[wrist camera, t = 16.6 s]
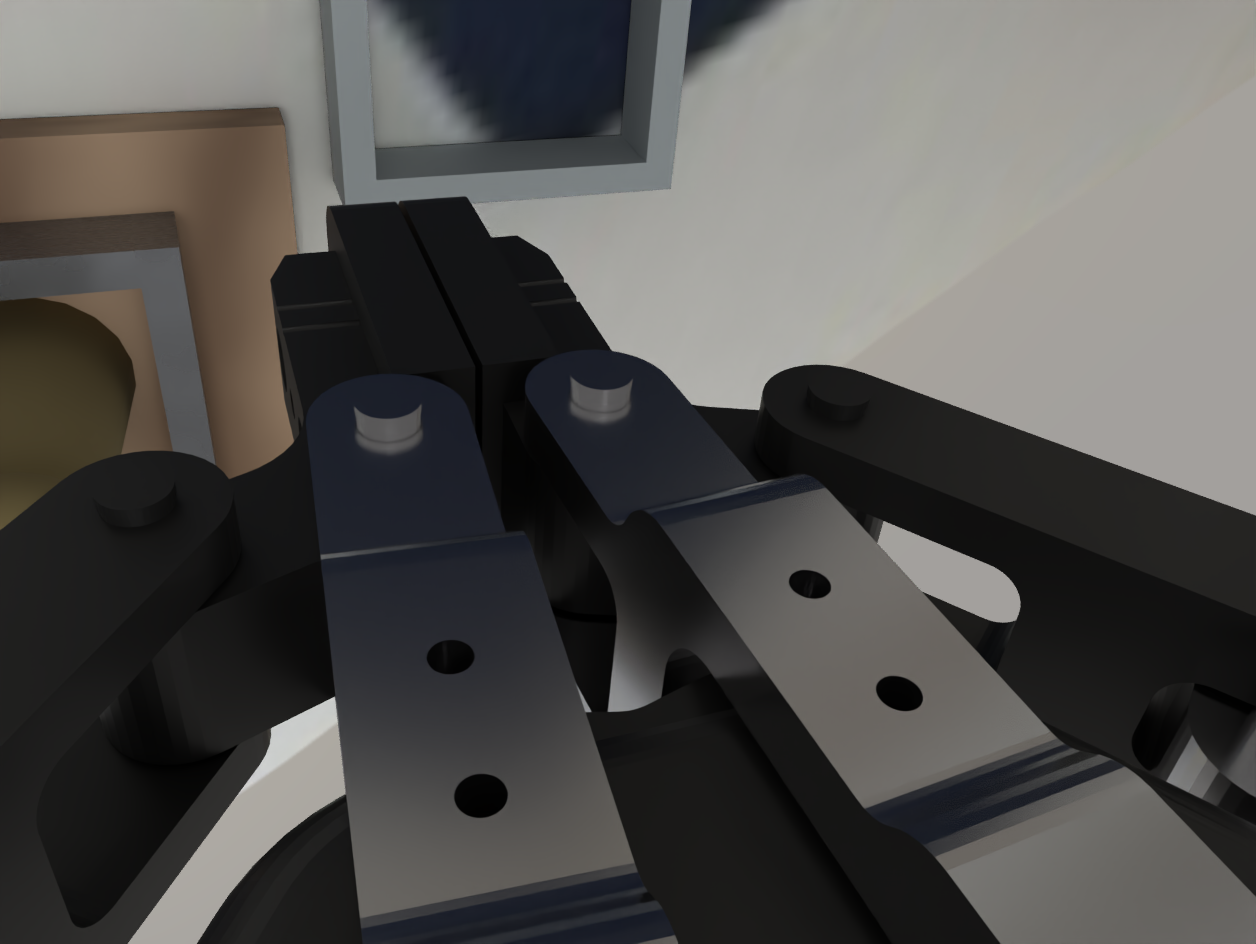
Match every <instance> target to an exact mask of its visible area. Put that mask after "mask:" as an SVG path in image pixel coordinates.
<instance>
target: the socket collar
mask: <svg viewBox="0 0 1256 944" xmlns="http://www.w3.org/2000/svg"><path fill="white" fill-rule="evenodd" d="M139 288H141V289H142V294H143V299H144V304H145V309H146V314H147V320H148V325H149V330H150V335H151V340H152V345H153V350H154V356H155V361H156V366H157V371H158V376H159V381H160V386H161V392H162V397H163V402H164V407H165V412H166V417H167V423H168V428H169V433H170V438H171V443H172V448H173V451H174V452H181V453H186V454H191V455H194V456H197V457H200V458H203V459H205V460H207V461H209V462H211V463H213V464H214V465H216V466H217V464H216V458H215V452H214V446H213V440H212V434H211V428H210V423H209V417H208V411H207V405H206V399H205V393H204V387H203V381H202V375H201V369H200V363H199V357H198V351H197V345H196V339H195V333H194V327H193V321H192V315H191V309H190V303H189V297H188V291H187V285H186V279H185V273H184V267H183V261H182V255H181V249H180V243H179V237H178V231H177V225H176V219H175V214H174V211H167V212H153V213H138V214H124V215H109V216H95V217H80V218H66V219H52V220H37V221H23V222H8V223H0V301H4V300H16V299H27V298H38V297H49V296H60V295H72V294H83V293H94V292H105V291H117V290H128V289H139Z"/></svg>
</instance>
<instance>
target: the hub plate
mask: <svg viewBox="0 0 1256 944" xmlns="http://www.w3.org/2000/svg"><path fill="white" fill-rule="evenodd" d="M167 211H174V214H175V219H176V225H177V231H178V237H179V243H180V249H181V255H182V261H183V267H184V273H185V279H186V285H187V291H188V297H189V303H190V309H191V315H192V321H193V327H194V333H195V339H196V345H197V351H198V357H199V363H200V369H201V375H202V381H203V387H204V393H205V399H206V405H207V411H208V417H209V423H210V428H211V434H212V440H213V446H214V452H215V458H216V464H217V467H218V468H220V469H221V470H222V471H223V472H224V473H225V474H226V476H227V477H228V478H229V479H230V478H233V477H236V476H239V475H242V474H244V473H247V472H249V471H252V470H254V469H256V468H259V467H261V466H263V465H265V464H266V463H268V462H270V461H272V460H273V459H275V458H276V457H278V456H279V455H281V454H282V453H283V452H284V451H285V450H286V449H288V448H289V447H290V446H291V445H292V444H293V442H294V439H293V435H292V429H291V426H290V422H289V418H288V413H287V409H286V405H285V400H284V392H283V384H282V375H281V367H280V359H279V350H278V342H277V333H276V325H275V316H274V308H273V300H272V291H271V283H270V279H271V278H272V276H273V274H274V273H275V271H276V269H277V268H278V266H279V264H280V263H281V261H282V259H283V258H284V256H285V255H292V254H297V244H296V234H295V224H294V215H293V205H292V195H291V185H290V175H289V165H288V155H287V145H286V135H285V125H284V122H283V119H282V116H281V114H280V111H279V108H257V109H234V110H210V111H187V112H164V113H141V114H117V115H94V116H71V117H48V118H24V119H1V120H0V223H8V222H23V221H37V220H52V219H66V218H80V217H95V216H109V215H124V214H138V213H153V212H167ZM38 298H39V299H45V300H50V301H55V302H61V303H66V304H68V305H70V306H72V307H74V308H76V309H78V310H80V311H83V312H85V313H87V314H89V315H91V316H93V317H95V318H97V319H98V320H99V321H100V322H101V323H102V324H103V325H105V326H106V327H107V328H108V329H109V330H110V331H112V332H113V333H114V334H115V335H116V336H117V337H118V338H119V340H120V341H121V343H122V345H123V346H124V348H125V350H126V351H127V353H128V355H129V356H130V358H131V360H132V363H133V369H134V375H135V381H136V388H135V393H134V397H133V402H132V407H131V411H130V416H129V420H128V425H127V430H126V434H125V439H124V444H123V448H122V453H121V454H126V453H131V452H140V451H173V448H172V443H171V438H170V433H169V428H168V423H167V417H166V412H165V407H164V402H163V397H162V392H161V386H160V381H159V376H158V371H157V366H156V361H155V356H154V350H153V345H152V340H151V335H150V330H149V325H148V320H147V314H146V309H145V304H144V299H143V294H142V289H141V288H139V289H128V290H117V291H105V292H94V293H83V294H72V295H60V296H49V297H38Z"/></svg>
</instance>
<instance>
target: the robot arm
mask: <svg viewBox="0 0 1256 944" xmlns="http://www.w3.org/2000/svg"><path fill="white" fill-rule="evenodd" d="M326 223H327V238H328V250H329V251H328V252H316V253H304V254H292V255H285V256H284V258H283V259H282V261H281V263H280V264H279V266H278V268H277V269H276V271H275V273H274V274H273V276H272V278H271V279H270V283H271V291H272V300H273V308H274V316H275V325H276V333H277V342H278V350H279V359H280V367H281V375H282V384H283V392H284V400H285V405H286V409H287V413H288V418H289V422H290V426H291V429H292V435H293V439H294V442H293V444H292V445H291V446H290V447H289V448H288V449H286V450H285V451H284V452H283V453H282V454H281V455H279V456H278V457H276V458H275V459H273V460H272V461H270V462H268V463H266V464H265V465H263V466H261V467H259V468H256V469H254V470H252V471H249V472H247V473H244V474H242V475H239V476H236V477H233V478H230V479H229V478H228V477H227V476H226V474H225V473H224V472H223V471H222V470H221V469H220V468H218V467H217V466H216V465H214V464H213V463H211V462H209V461H207V460H205V459H203V458H200V457H197V456H194V455H191V454H186V453H181V452H174V451H140V452H131V453H126V454H121V455H116V456H113V457H109V458H106V459H102V460H99V461H97V462H94V463H92V464H90V465H87V466H85V467H83V468H81V469H79V470H77V471H75V472H74V473H72V474H70V475H69V476H68V477H66V478H65V479H63V480H62V481H60V482H59V483H58V484H57V485H55V486H54V487H53V488H52V489H51V490H49V491H48V492H47V493H46V494H44V495H43V496H42V497H41V498H39V499H38V500H37V501H36V502H34V503H33V504H32V505H31V506H30V507H28V508H27V509H26V510H25V511H23V512H22V513H21V514H20V515H18V516H17V517H16V518H15V519H13V520H12V521H11V522H10V523H9V524H7V525H6V526H5V527H4V528H2V529H1V530H0V944H128V942H129V941H130V939H131V938H132V936H133V935H134V934H135V933H136V931H137V930H138V929H139V927H140V926H141V925H142V923H143V922H144V921H145V919H146V918H147V916H148V915H149V914H150V912H151V911H152V910H153V908H154V907H155V906H156V904H157V903H158V902H159V900H160V899H161V898H162V896H163V895H164V893H165V892H166V891H167V889H168V888H169V887H170V885H171V884H172V883H173V881H174V880H175V878H176V877H177V876H178V875H179V873H180V872H181V870H182V869H183V868H184V866H185V865H186V863H187V862H188V861H189V860H190V858H191V857H192V855H193V854H194V853H195V851H196V850H197V849H198V847H199V846H200V845H201V843H202V842H203V841H204V839H205V838H206V837H207V835H208V834H209V833H210V831H211V830H212V828H213V827H214V826H215V824H216V823H217V822H218V820H219V819H220V818H221V816H222V815H223V813H224V812H225V811H226V809H227V808H228V807H229V805H230V804H231V803H232V801H233V800H234V799H235V797H236V796H237V795H238V793H239V792H240V791H241V789H242V788H243V787H244V785H245V784H246V782H247V781H248V780H249V778H250V777H251V776H252V774H253V773H254V772H255V770H256V769H257V768H258V766H259V765H260V763H261V762H262V760H263V758H264V757H265V755H266V752H267V750H268V747H269V745H270V738H271V728H272V727H274V726H276V725H278V724H280V723H282V722H284V721H286V720H288V719H290V718H292V717H294V716H296V715H298V714H300V713H302V712H304V711H306V710H308V709H310V708H312V707H314V706H316V705H318V704H321V703H323V702H325V701H327V700H329V699H331V698H333V697H335V701H336V710H337V719H338V728H339V737H340V747H341V756H342V765H343V774H344V783H345V793H346V794H345V795H343V796H341V797H339V798H338V799H336V800H335V801H333V802H331V803H330V804H328V805H326V806H325V807H323V808H322V809H320V810H318V811H317V812H315V813H313V814H312V815H311V816H309V817H308V818H307V819H305V820H304V821H303V822H301V823H300V824H299V825H298V826H297V827H295V828H294V829H292V830H291V831H290V832H288V833H287V834H286V835H285V836H284V837H283V838H282V839H281V840H279V841H278V842H277V843H276V844H275V845H274V846H273V847H272V848H271V849H270V850H269V851H268V852H267V853H266V854H265V855H264V856H263V857H262V858H261V859H260V860H259V861H258V862H257V863H256V864H255V865H254V866H253V867H252V868H251V869H250V870H249V872H248V873H247V874H246V875H245V876H244V877H243V879H242V880H241V881H240V882H239V883H238V885H237V886H236V887H235V888H234V889H233V891H232V892H231V893H230V894H229V896H228V897H227V899H226V900H225V902H224V903H223V904H222V906H221V907H220V909H219V910H218V912H217V913H216V915H215V916H214V918H213V919H212V921H211V922H210V924H209V926H208V927H207V929H206V931H205V932H204V934H203V935H202V937H201V938H200V940H199V941H198V943H197V944H1256V516H1255V515H1253V514H1250V513H1247V512H1244V511H1242V510H1239V509H1236V508H1233V507H1231V506H1228V505H1225V504H1222V503H1220V502H1217V501H1214V500H1211V499H1209V498H1206V497H1203V496H1200V495H1197V494H1195V493H1192V492H1189V491H1186V490H1184V489H1181V488H1178V487H1176V486H1173V485H1170V484H1167V483H1165V482H1162V481H1159V480H1156V479H1154V478H1151V477H1148V476H1145V475H1143V474H1140V473H1137V472H1134V471H1131V470H1129V469H1126V468H1123V467H1121V466H1118V465H1115V464H1112V463H1110V462H1107V461H1104V460H1102V459H1099V458H1096V457H1093V456H1091V455H1088V454H1085V453H1082V452H1079V451H1077V450H1074V449H1071V448H1069V447H1066V446H1063V445H1060V444H1058V443H1055V442H1052V441H1049V440H1046V439H1044V438H1041V437H1038V436H1036V435H1033V434H1030V433H1027V432H1025V431H1022V430H1019V429H1016V428H1014V427H1011V426H1008V425H1005V424H1003V423H1000V422H997V421H994V420H992V419H989V418H986V417H983V416H981V415H978V414H975V413H973V412H970V411H967V410H964V409H962V408H959V407H956V406H953V405H951V404H948V403H945V402H942V401H940V400H937V399H934V398H931V397H929V396H926V395H923V394H920V393H917V392H915V391H912V390H909V389H907V388H904V387H901V386H898V385H895V384H893V383H890V382H887V381H884V380H882V379H879V378H876V377H874V376H871V375H868V374H865V373H862V372H859V371H856V370H853V369H848V368H844V367H838V366H830V365H804V366H798V367H793V368H790V369H786V370H784V371H782V372H779V373H777V374H776V375H774V376H773V377H772V378H770V379H769V381H768V382H767V383H766V384H765V387H764V389H763V393H762V398H761V404H760V410H748V409H733V408H717V407H705V406H696V405H692V404H691V403H690V402H689V401H688V400H687V399H686V397H685V396H684V395H683V394H682V393H681V392H680V390H679V389H678V388H677V387H676V386H675V385H674V383H673V382H672V381H671V380H670V379H669V378H668V376H667V375H666V374H664V373H663V372H662V371H661V370H660V369H659V368H657V367H656V366H654V365H653V364H651V363H649V362H647V361H645V360H643V359H640V358H637V357H635V356H632V355H628V354H624V353H620V352H614V351H612V350H611V349H610V347H609V346H608V344H607V343H606V341H605V340H604V338H603V337H602V335H601V334H600V332H599V331H598V329H597V328H596V326H595V325H594V323H593V322H592V320H591V319H590V317H589V316H588V314H587V313H586V311H585V310H584V308H583V306H582V305H581V303H580V302H577V301H576V296H575V294H574V293H573V291H572V290H571V288H570V287H569V285H568V284H567V283H564V278H563V276H562V275H561V273H560V272H559V270H558V269H557V267H556V266H555V264H554V263H553V261H552V259H551V258H550V256H549V255H548V254H546V253H545V252H543V251H541V250H540V249H538V248H537V247H535V246H533V245H532V244H530V243H528V242H527V241H525V240H523V239H522V238H520V237H518V236H506V237H494V238H491V236H490V235H489V233H488V231H487V230H486V228H485V226H484V224H483V223H482V221H481V219H480V218H479V216H478V214H477V213H476V211H475V209H474V208H473V206H472V204H471V203H470V201H469V199H468V198H467V197H466V196H461V197H447V198H433V199H419V200H405V201H399V203H398V204H397V202H395V201H393V202H379V203H365V204H351V205H337V206H328V207H327V212H326ZM883 521H886V522H888V523H890V524H892V525H895V526H897V527H900V528H902V529H905V530H907V531H910V532H912V533H914V534H917V535H919V536H921V537H924V538H926V539H929V540H931V541H934V542H936V543H938V544H941V545H943V546H946V547H948V548H950V549H953V550H955V551H958V552H960V553H962V554H965V555H967V556H970V557H972V558H975V559H977V560H979V561H982V562H984V563H987V564H989V565H991V566H994V567H995V568H997V569H999V570H1000V571H1001V572H1003V573H1004V574H1005V575H1006V576H1007V577H1009V579H1010V580H1011V581H1012V582H1013V583H1014V585H1015V587H1016V588H1017V590H1018V593H1019V596H1020V601H1021V608H1020V612H1019V615H1018V617H1017V620H1016V621H1013V622H1008V623H1000V622H993V621H989V620H987V619H984V618H982V617H979V616H977V615H975V614H972V613H970V612H967V611H965V610H963V609H961V608H958V607H956V606H954V605H951V604H949V603H947V602H945V601H942V600H940V599H938V598H935V597H933V596H931V595H928V594H926V593H924V592H922V591H921V590H920V589H919V588H918V587H917V586H916V585H915V584H914V583H913V582H912V581H911V579H910V578H909V577H908V576H907V575H906V574H905V573H904V572H903V571H902V570H901V569H900V568H899V567H898V565H897V564H896V563H895V562H894V561H893V560H892V559H891V558H890V557H889V556H888V555H887V554H886V552H885V551H884V550H883V549H882V548H881V547H880V546H879V545H878V544H877V542H878V539H879V535H880V531H881V528H882V524H883Z"/></svg>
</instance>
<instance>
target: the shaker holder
mask: <svg viewBox="0 0 1256 944" xmlns="http://www.w3.org/2000/svg"><path fill="white" fill-rule="evenodd" d="M690 8H691V0H632V2H631V15H630V27H629V40H628V53H627V65H626V78H625V90H624V103H623V116H622V128H621V135H616V136H598V137H580V138H562V139H544V140H526V141H508V142H490V143H472V144H454V145H436V146H418V147H400V148H382V149H375V143H374V124H373V105H372V86H371V68H370V49H369V30H368V11H367V0H320V13H321V26H322V39H323V52H324V65H325V78H326V91H327V104H328V117H329V130H330V143H331V156H332V169H333V181H334V184H335V186H336V189H337V191H338V194H339V196H340V199H341V201H342V204H343V205H351V204H365V203H379V202H393V201H395V202H397V204H398V203H399V201H405V200H419V199H433V198H447V197H461V196H466V197H467V198H468V199H469V201H470V203H484V202H498V201H512V200H526V199H539V198H553V197H567V196H580V195H594V194H608V193H621V192H635V191H649V190H663V189H671V182H672V173H673V164H674V155H675V146H676V137H677V127H678V118H679V109H680V100H681V91H682V82H683V72H684V63H685V54H686V45H687V36H688V27H689V18H690Z"/></svg>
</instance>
